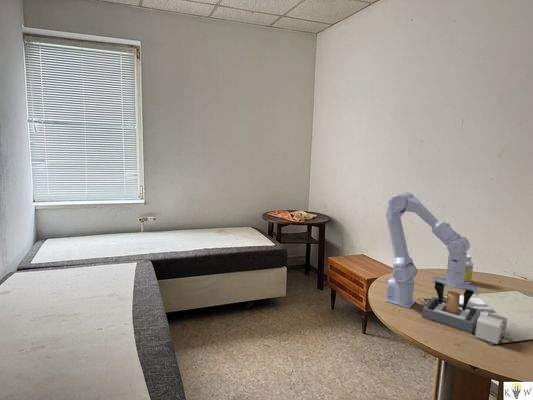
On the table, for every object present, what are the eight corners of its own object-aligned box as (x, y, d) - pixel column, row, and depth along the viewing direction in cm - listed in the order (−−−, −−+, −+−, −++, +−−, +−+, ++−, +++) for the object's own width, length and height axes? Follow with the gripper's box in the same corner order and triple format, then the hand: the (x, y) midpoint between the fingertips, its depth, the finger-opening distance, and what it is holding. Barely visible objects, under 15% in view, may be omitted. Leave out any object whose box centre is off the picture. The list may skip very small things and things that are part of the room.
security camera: (483, 309, 120) (477, 319, 113) (507, 316, 115) (502, 327, 108) (481, 326, 121) (474, 337, 114) (505, 334, 116) (500, 346, 109)
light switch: (449, 291, 145) (483, 292, 142) (449, 300, 145) (482, 301, 143) (458, 302, 134) (495, 303, 132) (458, 312, 135) (494, 313, 132)
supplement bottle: (451, 279, 165) (454, 253, 163) (462, 278, 167) (465, 252, 165) (463, 285, 159) (466, 258, 157) (474, 283, 161) (477, 257, 159)
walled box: (422, 317, 127) (423, 308, 126) (433, 305, 137) (434, 296, 137) (471, 333, 116) (473, 323, 116) (479, 318, 127) (480, 309, 126)
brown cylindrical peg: (443, 316, 127) (446, 293, 125) (446, 313, 130) (449, 290, 128) (455, 320, 124) (458, 296, 123) (458, 316, 127) (461, 293, 126)
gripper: (431, 268, 126) (427, 303, 128) (477, 278, 117) (472, 316, 118) (436, 263, 131) (433, 297, 133) (480, 273, 122) (476, 309, 124)
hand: (452, 306), depth 126 cm, fingers open, 7 cm apart
